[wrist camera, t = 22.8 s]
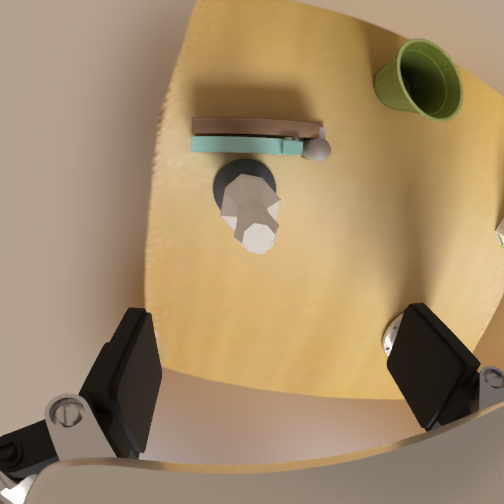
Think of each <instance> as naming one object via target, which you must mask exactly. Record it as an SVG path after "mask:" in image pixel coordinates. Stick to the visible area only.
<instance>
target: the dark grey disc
mask: <svg viewBox="0 0 504 504" xmlns="http://www.w3.org/2000/svg"><path fill="white" fill-rule="evenodd" d="M240 174H245V175H250V176H256V177H261V178H263V179H264V181H265V182H266V183H267V184H268V185H269V186H270V188H271V189H272V190H273V191H274V192H275V193H276V184H275V180H274V178H273V176H272V174H271V172H270V171H269V170H268V169H267V168H266V167H265V166H264V165H262V164H261V163H259V162H256V161H254V160H248V159H241V160H236V161H233V162H231V163H229V164H228V165H226V166H225V167H224V168H223V169H222V170H221V171H220V172H219V174H218V175H217V177H216V180H215V183H214V198H215V201H216V203H217V205H218V207H219V208H220V209H222V203H223V197H224V192H225V188H226V187H227V186H228V185H229V184H230V183H231V182H232V181H234V180H235V179H236V178H237V177H238V176H239V175H240Z"/></svg>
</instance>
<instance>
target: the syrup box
mask: <svg viewBox="0 0 504 504" xmlns="http://www.w3.org/2000/svg"><path fill="white" fill-rule="evenodd" d="M495 233H496V235H497V237H498V240H499V242H500V245H501V247H503V248H504V218H503V219H502V221H501V222H500V224H499V225H498V227H497V229H496V230H495Z"/></svg>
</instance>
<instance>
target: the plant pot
mask: <svg viewBox="0 0 504 504" xmlns="http://www.w3.org/2000/svg"><path fill="white" fill-rule="evenodd" d="M402 80H403V81H404V83H405V85H406V88H405V86H404V84H403V81H402ZM374 88H375V91H376V94H377V96H378V98H379V99H380V101H381V102H382V103H383V104H384V105H386V106H387V107H389V108H392V109H395V110H401V111H407V112H413V113H418V114H420V115H423V116H424V117H426V118H427V119H429V120H432V121H435V122H447V121H450V120H451V119H453V118H454V117H455V116H456V115H457V114H458V112H459V110H460V108H461V105H462V100H463V87H462V82H461V78H460V75H459V72H458V70H457V68H456V66H455V64H454V62H453V61H452V59H451V58H450V57H449V56H448V55H447V54H446V52H445V51H444V50H443V49H441V48H440V47H439V46H438V45H436V44H434V43H433V42H431V41H428V40H425V39H412V40H409V41H407V42H406V43H405V44H403V46H402V47H401V48H400V50H399V53H398V55H397V56H396V58H394V59H393V60H392V61H391V62H390V63H388V64H387V65H386V66H385V67H384V68H382V69H381V70H380V71H379V72H378V73H377V74H376V77H375V82H374ZM408 93H409V94H410V95H409V94H408Z"/></svg>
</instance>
